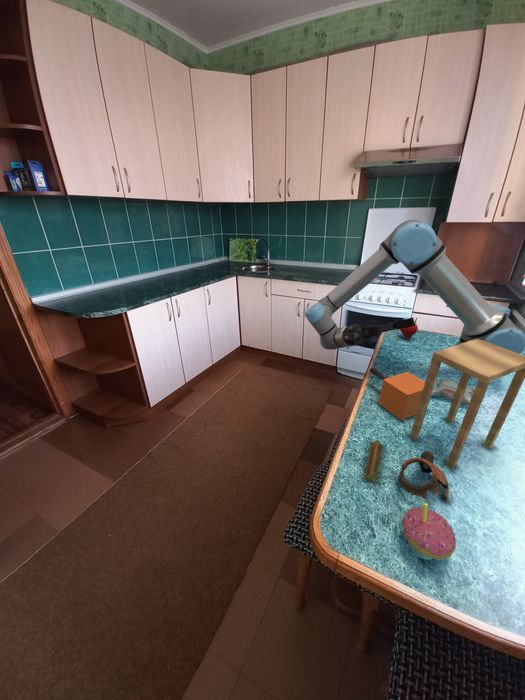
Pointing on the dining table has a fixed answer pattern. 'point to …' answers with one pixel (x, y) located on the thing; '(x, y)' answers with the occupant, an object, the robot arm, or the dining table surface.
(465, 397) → the packaged food
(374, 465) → the chocolate bar
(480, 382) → the wooden stool
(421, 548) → the cupcake
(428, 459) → the rusty ring bracket
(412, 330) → the strawberry
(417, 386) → the orange handled block
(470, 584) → the dining table surface
